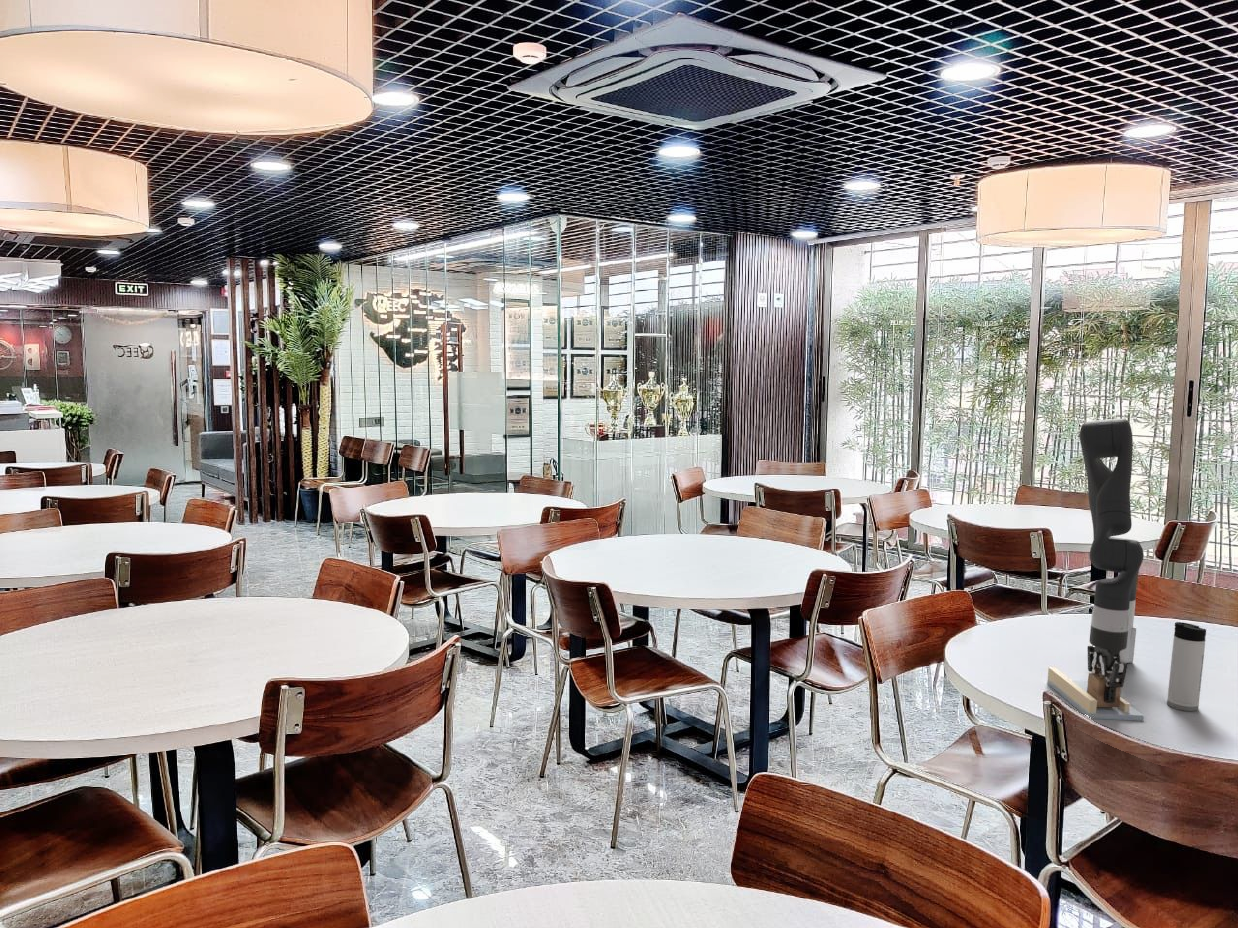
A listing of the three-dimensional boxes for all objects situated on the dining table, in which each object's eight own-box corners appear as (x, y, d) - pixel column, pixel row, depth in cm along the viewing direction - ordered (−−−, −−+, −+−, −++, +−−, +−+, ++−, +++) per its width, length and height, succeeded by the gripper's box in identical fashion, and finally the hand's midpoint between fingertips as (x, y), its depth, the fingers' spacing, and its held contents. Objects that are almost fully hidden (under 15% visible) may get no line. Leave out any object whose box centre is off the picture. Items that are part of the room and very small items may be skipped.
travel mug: (1159, 701, 214) (1167, 619, 212) (1185, 701, 215) (1194, 619, 213) (1177, 711, 208) (1186, 627, 206) (1204, 711, 209) (1213, 627, 206)
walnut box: (1108, 698, 209) (1111, 671, 208) (1119, 707, 204) (1122, 679, 203) (1086, 697, 210) (1089, 670, 209) (1096, 706, 205) (1099, 678, 204)
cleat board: (1096, 685, 224) (1097, 669, 224) (1143, 720, 202) (1145, 702, 202) (1047, 683, 225) (1048, 667, 224) (1088, 718, 203) (1090, 700, 202)
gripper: (1143, 636, 197) (1136, 710, 199) (1110, 617, 212) (1104, 687, 214) (1108, 634, 198) (1101, 709, 200) (1078, 616, 212) (1072, 685, 214)
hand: (1103, 697), depth 207 cm, fingers closed on walnut box, 5 cm apart
